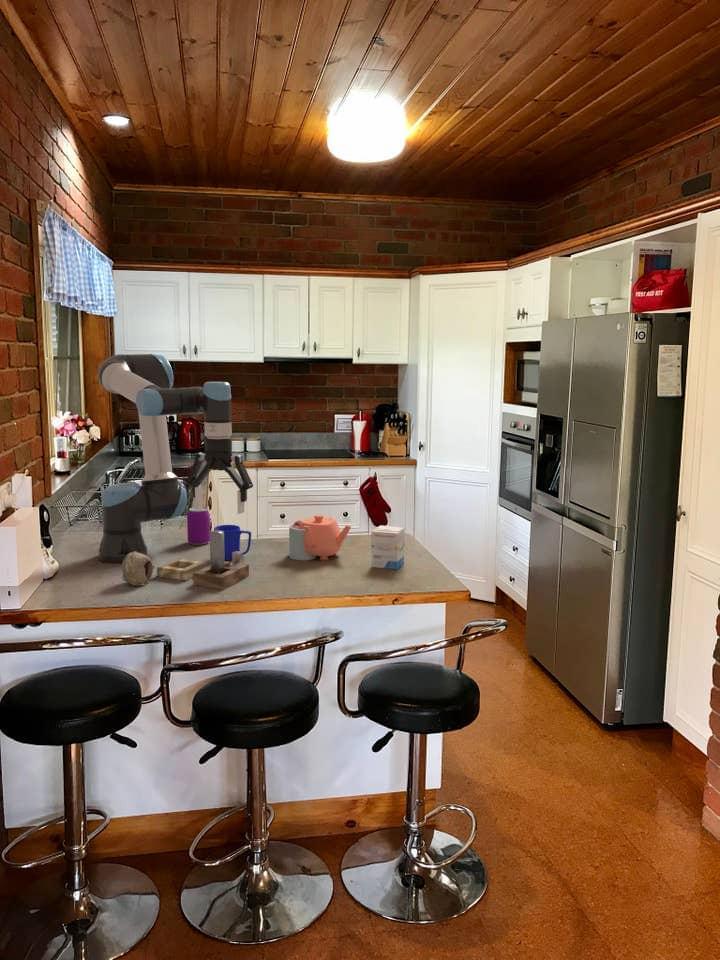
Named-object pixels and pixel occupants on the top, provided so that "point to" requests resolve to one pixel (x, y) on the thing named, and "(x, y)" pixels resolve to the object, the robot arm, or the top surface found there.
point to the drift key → (237, 558)
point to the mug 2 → (297, 543)
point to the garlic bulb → (137, 569)
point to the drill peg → (217, 552)
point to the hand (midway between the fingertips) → (219, 511)
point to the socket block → (221, 576)
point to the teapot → (322, 536)
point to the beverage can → (198, 526)
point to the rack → (180, 569)
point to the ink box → (388, 547)
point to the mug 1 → (232, 539)
